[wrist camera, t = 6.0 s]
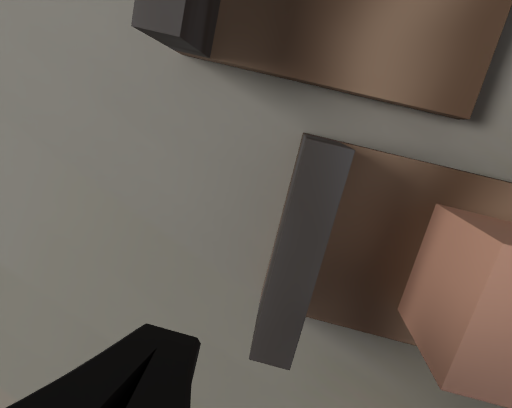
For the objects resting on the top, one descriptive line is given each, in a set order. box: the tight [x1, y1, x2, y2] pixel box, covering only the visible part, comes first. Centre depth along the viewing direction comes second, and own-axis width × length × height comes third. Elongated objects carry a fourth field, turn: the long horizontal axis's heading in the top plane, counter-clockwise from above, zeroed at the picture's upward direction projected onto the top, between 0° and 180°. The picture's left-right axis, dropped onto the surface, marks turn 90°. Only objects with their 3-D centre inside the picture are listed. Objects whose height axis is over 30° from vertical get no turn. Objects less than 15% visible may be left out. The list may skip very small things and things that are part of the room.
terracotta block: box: [397, 204, 512, 408], centre depth 13 cm, size 5×5×5 cm
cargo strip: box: [249, 133, 512, 370], centre depth 14 cm, size 12×8×5 cm, turn 77°
